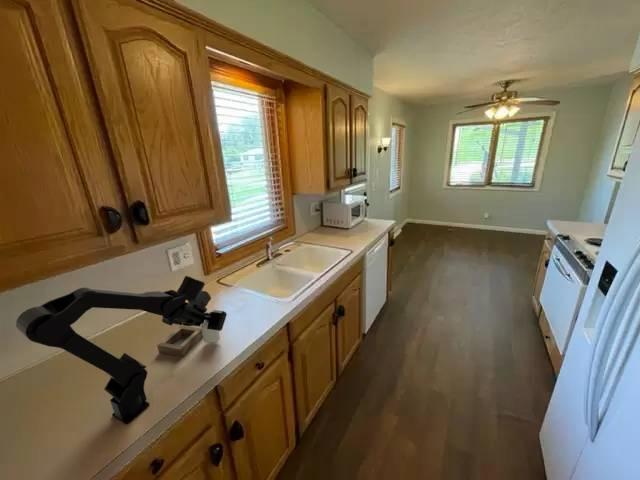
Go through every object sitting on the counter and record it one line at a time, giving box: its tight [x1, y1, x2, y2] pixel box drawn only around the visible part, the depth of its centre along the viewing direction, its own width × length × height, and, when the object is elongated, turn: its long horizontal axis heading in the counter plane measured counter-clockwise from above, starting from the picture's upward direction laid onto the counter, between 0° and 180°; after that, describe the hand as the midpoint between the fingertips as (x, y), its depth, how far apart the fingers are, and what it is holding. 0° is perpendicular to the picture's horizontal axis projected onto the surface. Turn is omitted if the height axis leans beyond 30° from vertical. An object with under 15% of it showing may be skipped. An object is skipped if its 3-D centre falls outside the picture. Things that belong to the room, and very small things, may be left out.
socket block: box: [157, 325, 203, 359], centre depth 100 cm, size 12×10×4 cm
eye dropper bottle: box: [200, 310, 221, 344], centre depth 99 cm, size 4×6×12 cm
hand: (211, 322), depth 100 cm, fingers closed on eye dropper bottle, 5 cm apart
